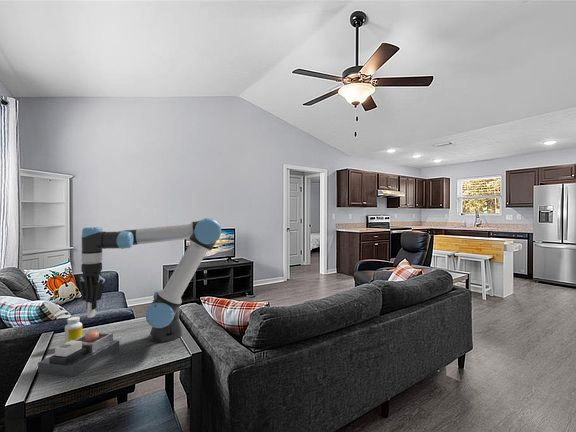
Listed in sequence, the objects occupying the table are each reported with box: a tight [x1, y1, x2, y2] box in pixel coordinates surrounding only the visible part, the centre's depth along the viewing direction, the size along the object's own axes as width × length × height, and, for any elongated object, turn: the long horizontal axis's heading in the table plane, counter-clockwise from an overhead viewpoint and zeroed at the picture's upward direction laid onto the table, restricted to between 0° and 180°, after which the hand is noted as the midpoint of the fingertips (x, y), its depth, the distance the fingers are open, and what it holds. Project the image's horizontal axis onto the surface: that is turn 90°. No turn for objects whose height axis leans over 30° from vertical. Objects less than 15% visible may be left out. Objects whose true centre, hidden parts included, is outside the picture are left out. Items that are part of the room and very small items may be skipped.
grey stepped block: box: [37, 331, 120, 378], centre depth 122 cm, size 16×23×8 cm
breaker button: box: [84, 330, 100, 342], centre depth 127 cm, size 5×5×3 cm
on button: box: [54, 340, 82, 357], centre depth 116 cm, size 5×7×3 cm
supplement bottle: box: [64, 316, 83, 344], centre depth 135 cm, size 7×7×13 cm
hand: (91, 316), depth 127 cm, fingers closed
